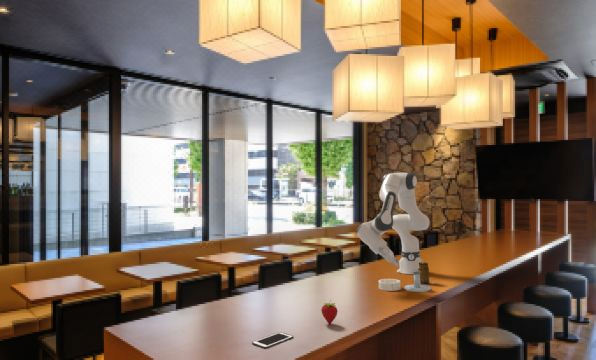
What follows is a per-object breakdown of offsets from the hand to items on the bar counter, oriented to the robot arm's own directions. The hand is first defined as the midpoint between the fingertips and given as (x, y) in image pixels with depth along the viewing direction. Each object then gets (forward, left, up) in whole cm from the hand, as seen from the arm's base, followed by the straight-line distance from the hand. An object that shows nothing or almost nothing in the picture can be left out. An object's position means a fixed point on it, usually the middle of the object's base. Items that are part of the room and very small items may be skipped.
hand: (398, 264), depth 223 cm
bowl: (0, -5, -13) cm, 14 cm away
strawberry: (+66, -30, -14) cm, 74 cm away
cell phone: (+88, -48, -14) cm, 101 cm away
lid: (0, +10, -14) cm, 17 cm away
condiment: (-15, +15, -14) cm, 25 cm away
